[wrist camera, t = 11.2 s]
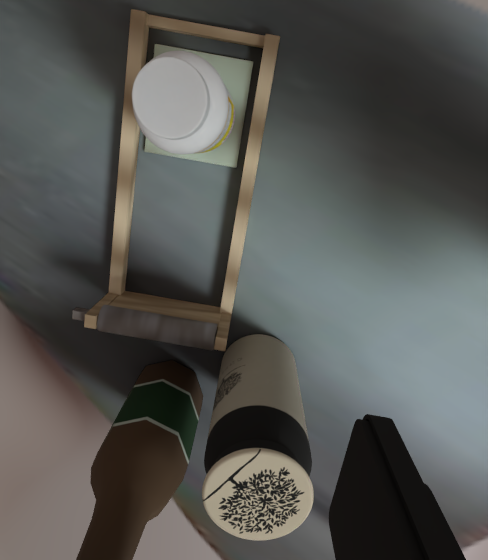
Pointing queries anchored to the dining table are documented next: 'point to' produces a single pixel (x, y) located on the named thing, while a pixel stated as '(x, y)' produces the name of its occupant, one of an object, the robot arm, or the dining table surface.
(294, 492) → the travel mug
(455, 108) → the dining table surface
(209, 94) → the supplement bottle
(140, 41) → the frame
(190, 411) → the beer bottle
